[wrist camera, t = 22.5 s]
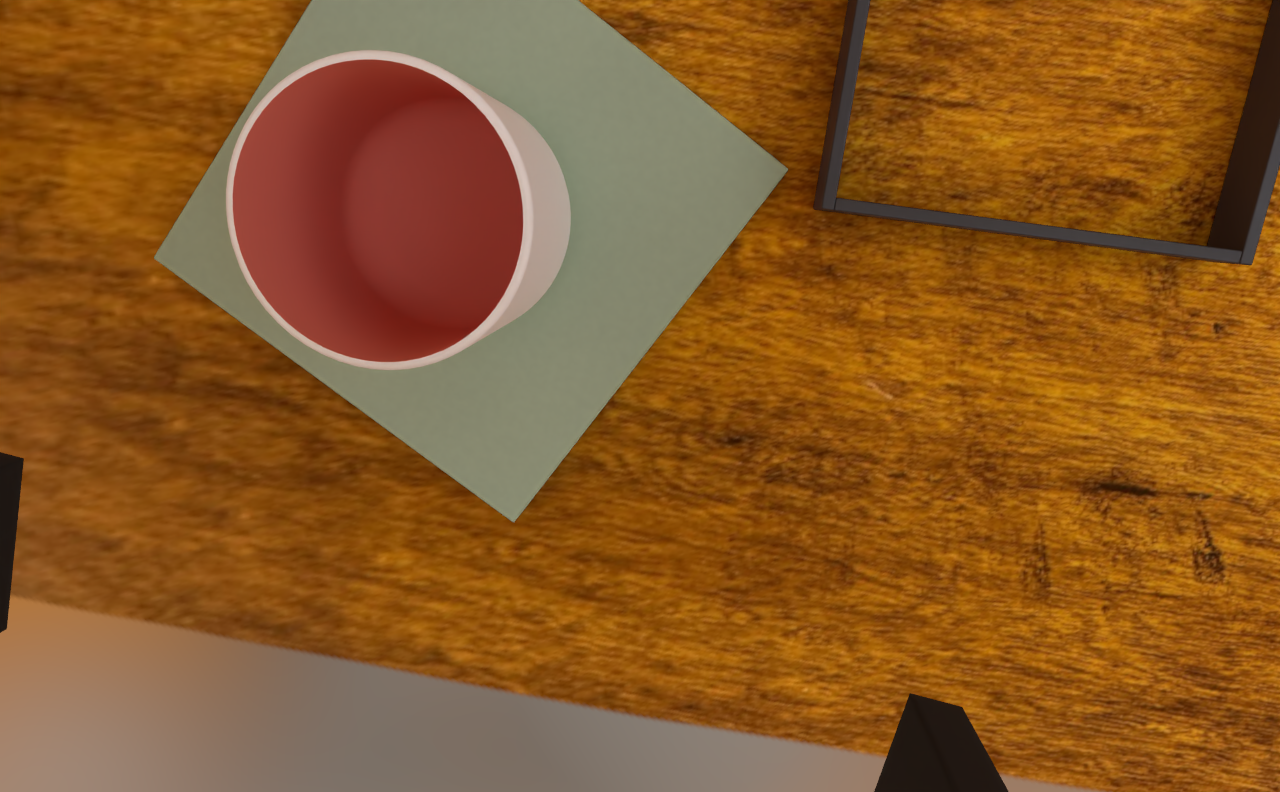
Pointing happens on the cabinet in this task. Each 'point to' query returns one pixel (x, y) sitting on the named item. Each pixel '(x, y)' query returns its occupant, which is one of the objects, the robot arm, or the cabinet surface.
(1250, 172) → the square frame
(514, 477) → the mat
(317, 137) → the cup
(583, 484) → the cabinet surface
